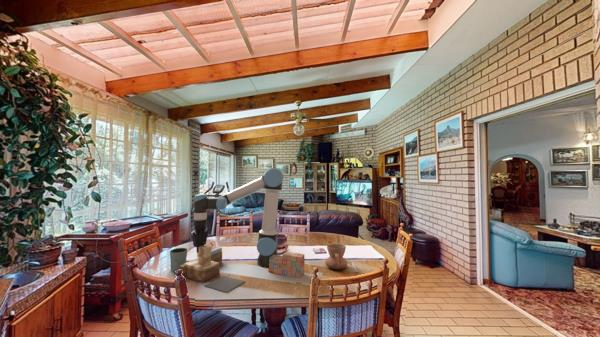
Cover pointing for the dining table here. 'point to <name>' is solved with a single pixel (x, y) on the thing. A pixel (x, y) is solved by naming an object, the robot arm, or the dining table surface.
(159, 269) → the dining table surface
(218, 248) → the light grey bar
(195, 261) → the lid
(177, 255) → the grey cup
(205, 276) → the brown wooden open box
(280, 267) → the brown patterned box
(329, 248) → the ceramic jug
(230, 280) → the mat
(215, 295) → the dining table surface
